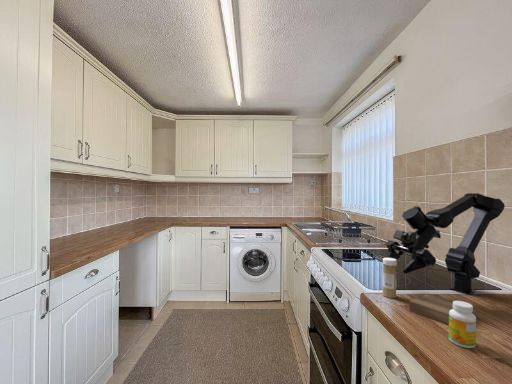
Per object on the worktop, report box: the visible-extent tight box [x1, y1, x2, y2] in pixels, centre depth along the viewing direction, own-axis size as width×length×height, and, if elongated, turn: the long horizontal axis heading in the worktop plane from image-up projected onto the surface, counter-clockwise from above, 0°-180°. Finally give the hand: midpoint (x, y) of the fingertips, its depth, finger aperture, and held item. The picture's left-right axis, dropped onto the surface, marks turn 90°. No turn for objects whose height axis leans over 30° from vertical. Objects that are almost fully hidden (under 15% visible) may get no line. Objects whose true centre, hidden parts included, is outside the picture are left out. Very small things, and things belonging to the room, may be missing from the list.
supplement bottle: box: [448, 300, 477, 349], centre depth 66 cm, size 5×5×10 cm
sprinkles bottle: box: [382, 257, 398, 299], centre depth 95 cm, size 5×5×14 cm
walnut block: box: [409, 293, 454, 326], centre depth 81 cm, size 12×12×3 cm
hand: (394, 268), depth 95 cm, fingers open, 9 cm apart
